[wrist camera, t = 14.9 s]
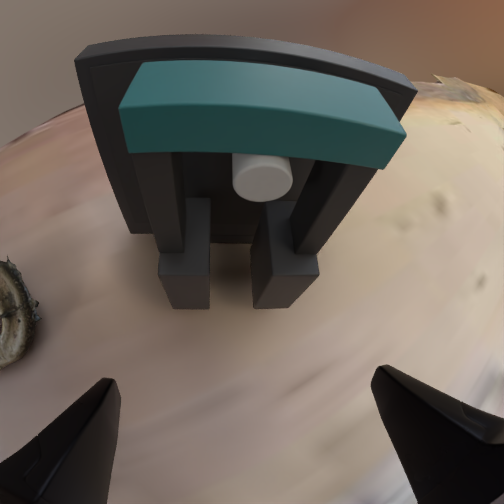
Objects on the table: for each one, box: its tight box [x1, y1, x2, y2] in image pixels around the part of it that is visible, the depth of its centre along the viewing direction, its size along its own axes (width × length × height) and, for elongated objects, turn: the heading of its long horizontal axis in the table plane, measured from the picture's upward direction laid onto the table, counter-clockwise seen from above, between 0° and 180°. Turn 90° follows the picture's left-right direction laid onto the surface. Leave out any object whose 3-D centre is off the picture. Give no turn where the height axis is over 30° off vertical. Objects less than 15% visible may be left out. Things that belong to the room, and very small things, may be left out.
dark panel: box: [74, 34, 418, 243], centre depth 15 cm, size 13×14×14 cm
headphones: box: [118, 60, 407, 309], centre depth 12 cm, size 4×7×13 cm, turn 93°
